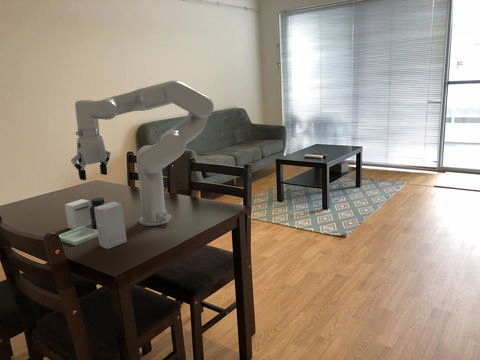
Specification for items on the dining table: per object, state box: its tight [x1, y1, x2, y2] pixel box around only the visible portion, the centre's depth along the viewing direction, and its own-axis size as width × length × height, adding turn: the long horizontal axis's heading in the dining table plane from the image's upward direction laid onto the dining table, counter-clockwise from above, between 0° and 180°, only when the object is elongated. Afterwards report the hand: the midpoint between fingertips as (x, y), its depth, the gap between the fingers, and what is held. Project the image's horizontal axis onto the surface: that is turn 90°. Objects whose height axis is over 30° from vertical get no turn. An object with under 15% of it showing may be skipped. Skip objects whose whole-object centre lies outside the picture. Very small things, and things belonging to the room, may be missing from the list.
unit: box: [64, 198, 92, 230], centre depth 164 cm, size 6×8×10 cm
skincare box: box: [94, 201, 128, 250], centre depth 144 cm, size 8×6×15 cm
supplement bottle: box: [90, 197, 106, 230], centre depth 161 cm, size 7×7×12 cm
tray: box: [58, 226, 98, 247], centre depth 153 cm, size 12×12×2 cm
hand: (93, 177), depth 158 cm, fingers open, 9 cm apart
